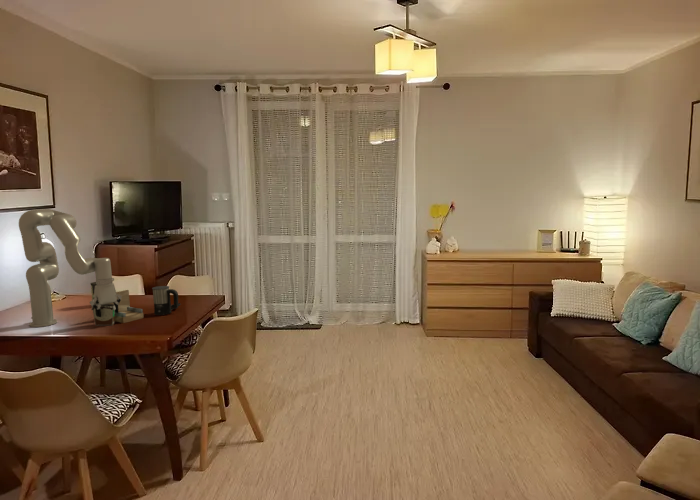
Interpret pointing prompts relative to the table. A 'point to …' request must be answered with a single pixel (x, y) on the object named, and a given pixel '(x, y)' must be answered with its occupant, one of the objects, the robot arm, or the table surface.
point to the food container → (105, 315)
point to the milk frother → (164, 300)
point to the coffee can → (93, 289)
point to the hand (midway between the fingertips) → (107, 314)
